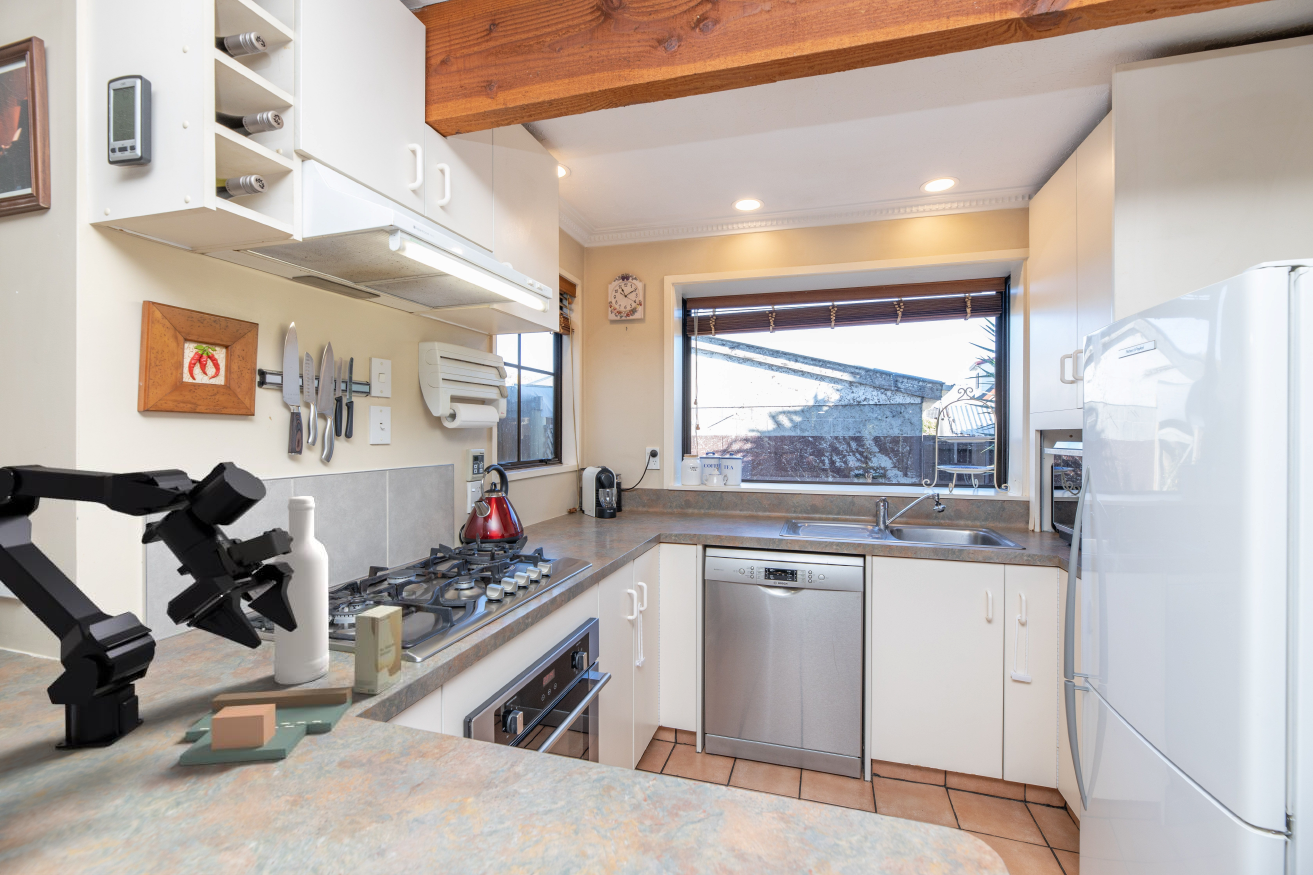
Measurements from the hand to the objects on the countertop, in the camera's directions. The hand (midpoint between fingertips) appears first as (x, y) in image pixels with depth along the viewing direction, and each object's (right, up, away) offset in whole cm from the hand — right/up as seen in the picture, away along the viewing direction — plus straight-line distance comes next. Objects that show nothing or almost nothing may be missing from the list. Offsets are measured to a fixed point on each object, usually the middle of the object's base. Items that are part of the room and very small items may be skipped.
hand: (277, 637), depth 78 cm
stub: (-3, -14, -2) cm, 14 cm away
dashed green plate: (-4, -14, +5) cm, 15 cm away
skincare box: (+6, -14, +17) cm, 22 cm away
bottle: (-9, -13, +20) cm, 26 cm away
